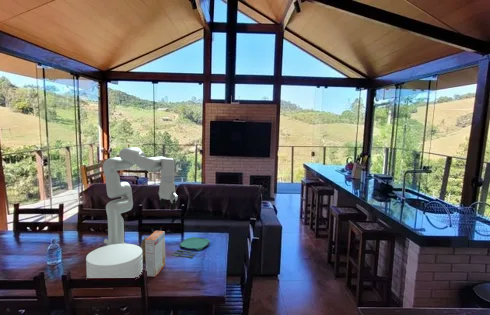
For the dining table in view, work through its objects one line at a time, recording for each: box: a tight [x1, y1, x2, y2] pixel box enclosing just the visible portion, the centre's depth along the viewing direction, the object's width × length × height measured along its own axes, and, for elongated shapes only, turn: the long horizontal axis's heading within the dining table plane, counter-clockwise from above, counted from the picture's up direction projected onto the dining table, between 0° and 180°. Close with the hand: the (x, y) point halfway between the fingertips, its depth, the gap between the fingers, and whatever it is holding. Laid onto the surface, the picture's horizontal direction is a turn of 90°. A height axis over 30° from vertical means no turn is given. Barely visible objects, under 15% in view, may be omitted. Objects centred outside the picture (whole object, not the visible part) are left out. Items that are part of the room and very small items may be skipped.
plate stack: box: [85, 243, 144, 279], centre depth 165 cm, size 28×28×12 cm
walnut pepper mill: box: [140, 236, 148, 263], centre depth 182 cm, size 5×5×14 cm
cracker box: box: [145, 230, 166, 278], centre depth 168 cm, size 14×6×21 cm, turn 173°
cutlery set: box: [171, 236, 211, 259], centre depth 202 cm, size 20×30×2 cm, turn 163°
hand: (167, 207), depth 177 cm, fingers open, 9 cm apart
